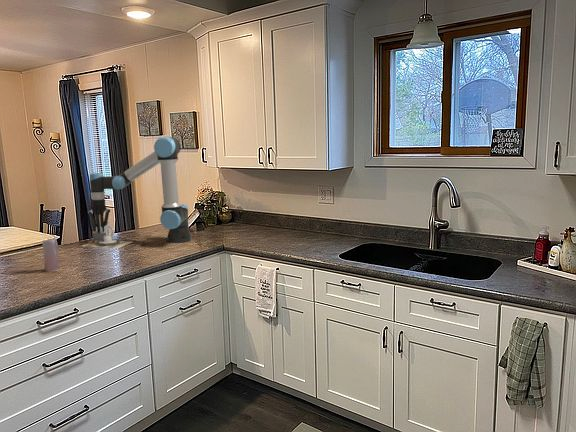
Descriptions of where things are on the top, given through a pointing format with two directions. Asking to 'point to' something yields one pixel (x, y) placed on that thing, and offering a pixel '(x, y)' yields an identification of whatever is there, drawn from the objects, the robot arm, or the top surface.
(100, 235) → the dial
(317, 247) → the top surface
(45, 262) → the beverage can
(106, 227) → the mug
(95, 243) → the board
